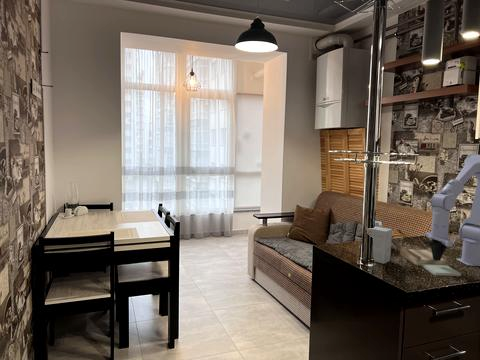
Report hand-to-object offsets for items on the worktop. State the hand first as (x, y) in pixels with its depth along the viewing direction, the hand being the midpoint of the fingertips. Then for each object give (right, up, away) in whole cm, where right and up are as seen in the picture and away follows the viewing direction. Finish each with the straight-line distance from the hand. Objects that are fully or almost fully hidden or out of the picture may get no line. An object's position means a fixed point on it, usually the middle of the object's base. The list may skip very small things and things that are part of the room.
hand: (436, 260), depth 138 cm
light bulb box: (-13, 0, +30) cm, 33 cm away
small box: (-20, -2, +7) cm, 21 cm away
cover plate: (0, -4, -3) cm, 5 cm away
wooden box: (0, -2, +9) cm, 10 cm away
